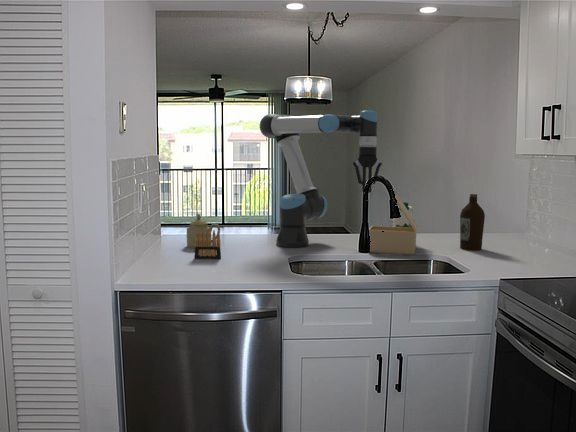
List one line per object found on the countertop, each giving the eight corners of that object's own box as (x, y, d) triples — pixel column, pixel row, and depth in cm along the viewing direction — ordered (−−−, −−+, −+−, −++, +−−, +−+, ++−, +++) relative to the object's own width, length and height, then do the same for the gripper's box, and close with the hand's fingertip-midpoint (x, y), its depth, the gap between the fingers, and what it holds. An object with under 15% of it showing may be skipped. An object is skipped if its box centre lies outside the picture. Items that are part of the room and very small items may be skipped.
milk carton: (393, 245, 267) (394, 203, 264) (391, 242, 276) (393, 201, 273) (412, 246, 266) (414, 203, 263) (410, 242, 275) (411, 201, 272)
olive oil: (473, 246, 268) (475, 192, 264) (488, 250, 258) (491, 195, 254) (453, 247, 264) (456, 193, 261) (468, 251, 254) (471, 195, 251)
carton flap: (388, 191, 244) (390, 190, 244) (391, 189, 257) (393, 188, 257) (414, 231, 243) (416, 230, 243) (416, 226, 256) (418, 225, 256)
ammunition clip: (194, 258, 233) (194, 229, 231) (195, 258, 235) (194, 229, 233) (220, 259, 233) (220, 230, 231) (221, 258, 235) (220, 229, 233)
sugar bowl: (218, 243, 268) (218, 211, 266) (220, 248, 257) (220, 214, 255) (186, 244, 265) (186, 212, 263) (187, 248, 254) (186, 215, 253)
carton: (367, 252, 250) (368, 229, 249) (371, 247, 262) (371, 225, 261) (414, 255, 245) (414, 232, 243) (415, 249, 257) (416, 227, 256)
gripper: (351, 146, 249) (350, 200, 252) (381, 146, 245) (380, 201, 248) (354, 146, 256) (353, 198, 259) (383, 146, 252) (382, 199, 256)
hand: (366, 199), depth 254 cm, fingers closed
